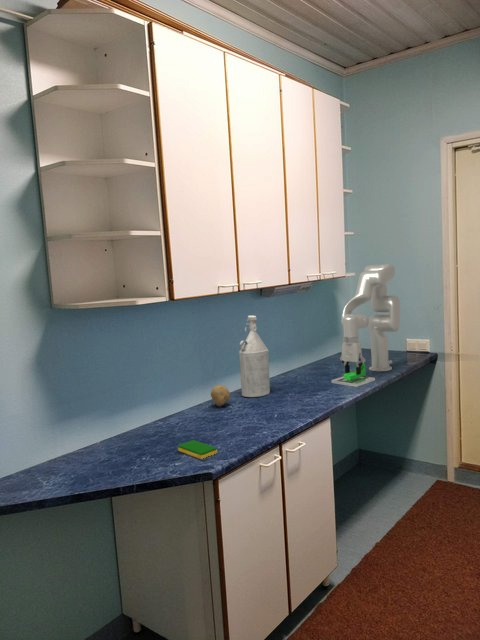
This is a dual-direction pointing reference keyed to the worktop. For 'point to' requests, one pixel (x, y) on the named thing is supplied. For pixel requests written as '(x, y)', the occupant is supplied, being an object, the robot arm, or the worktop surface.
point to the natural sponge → (220, 395)
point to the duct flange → (353, 381)
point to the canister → (254, 364)
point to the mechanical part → (353, 374)
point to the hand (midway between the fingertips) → (353, 373)
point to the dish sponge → (197, 449)
